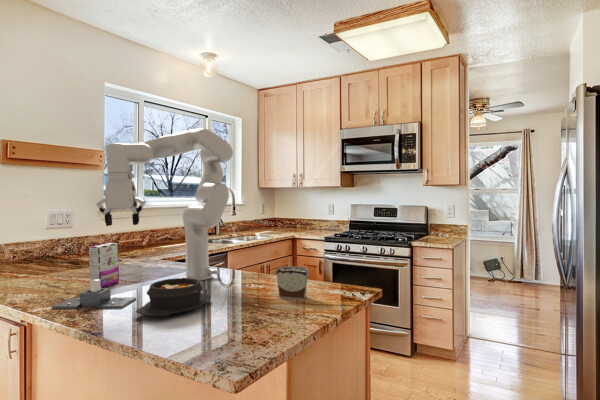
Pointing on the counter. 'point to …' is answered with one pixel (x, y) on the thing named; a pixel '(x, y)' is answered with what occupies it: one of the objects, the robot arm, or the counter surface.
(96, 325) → the counter surface
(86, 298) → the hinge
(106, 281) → the candy bar box
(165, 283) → the casserole
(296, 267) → the food container
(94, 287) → the pin
